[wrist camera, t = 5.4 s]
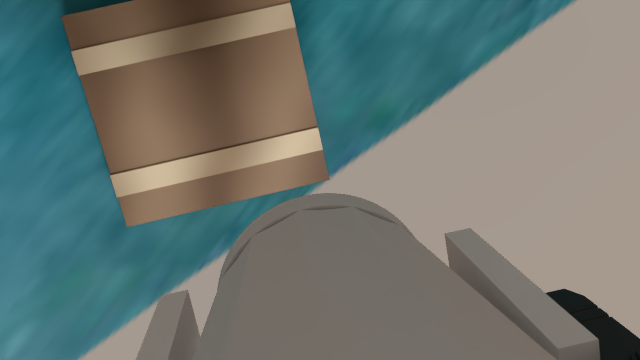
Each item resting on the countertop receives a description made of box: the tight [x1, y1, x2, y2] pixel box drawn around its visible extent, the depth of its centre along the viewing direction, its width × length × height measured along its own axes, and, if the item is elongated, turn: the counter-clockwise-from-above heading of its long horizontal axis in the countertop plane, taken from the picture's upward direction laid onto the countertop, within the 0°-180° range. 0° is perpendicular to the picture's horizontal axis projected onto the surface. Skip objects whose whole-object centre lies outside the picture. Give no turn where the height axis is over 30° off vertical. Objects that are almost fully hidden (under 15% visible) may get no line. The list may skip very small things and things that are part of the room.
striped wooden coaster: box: [61, 0, 329, 227], centre depth 31 cm, size 11×11×2 cm
